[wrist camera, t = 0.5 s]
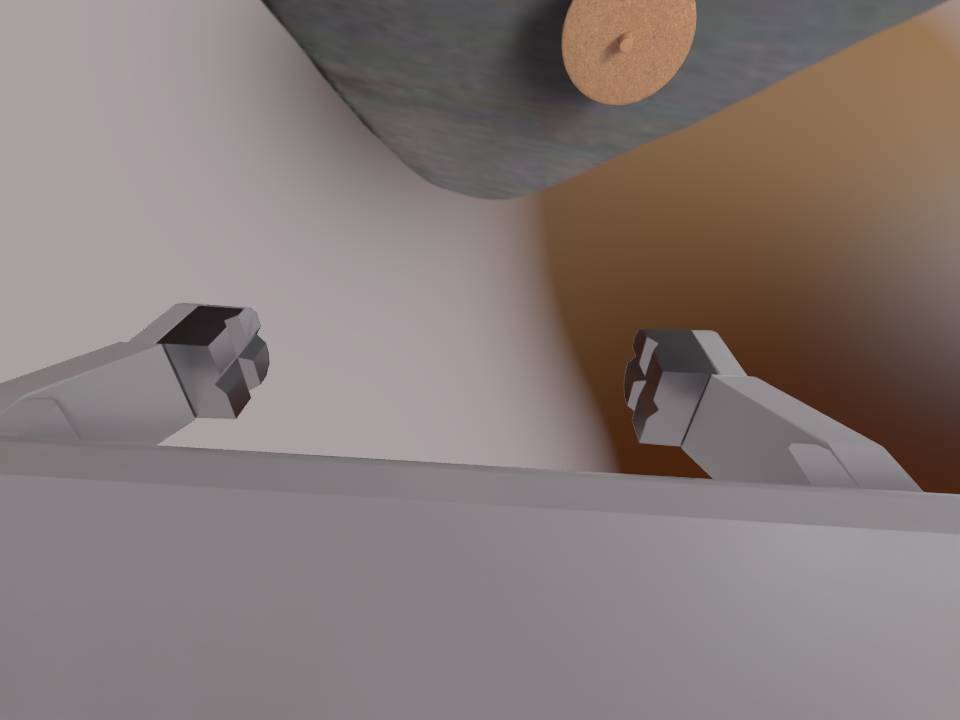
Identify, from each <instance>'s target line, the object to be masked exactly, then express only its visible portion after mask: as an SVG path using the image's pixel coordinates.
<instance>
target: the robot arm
mask: <svg viewBox="0 0 960 720" xmlns="http://www.w3.org/2000/svg"><path fill="white" fill-rule="evenodd" d="M260 327H261V324H260V321H259V319H258V316H257V313H256V312H255V311H254V310H253V309H251V308H247V307H232V306H219V305H203V304H189V303H188V304H187V303H181V304H175V305H174V306H172V307H171V308H170V309H169V310H167V311H166V312H165V313H164V314H162V315H161V316H160V317H159V318H157V319H156V320H155V321H154V322H152V323H151V324H150V325H149V326H147V327H146V328H145V329H144V330H143V331H141V332H140V333H139V334H137V335H136V336H135V337H134V338H132V339H131V340H130V341H129V342H118V343H116V344H113V345H110V346H107V347H104V348H101V349H99V350H96V351H93V352H90V353H87V354H84V355H81V356H78V357H75V358H72V359H69V360H67V361H64V362H61V363H58V364H55V365H52V366H49V367H46V368H43V369H41V370H38V371H35V372H32V373H29V374H26V375H24V376H20V377H18V378H15V379H12V380H9V381H6V382H3V383H0V720H960V494H942V493H927V492H923V491H922V490H921V489H920V488H919V486H918V485H917V484H916V483H915V482H914V481H913V480H912V479H911V477H910V476H909V475H908V474H907V473H906V472H905V471H904V470H903V468H902V467H901V466H900V465H899V464H898V463H897V462H896V461H895V460H894V458H893V457H892V456H891V455H890V454H889V453H888V452H887V451H886V450H885V448H884V447H882V446H880V445H878V444H877V443H875V442H873V441H871V440H869V439H867V438H866V437H864V436H862V435H860V434H858V433H857V432H855V431H853V430H851V429H849V428H848V427H846V426H844V425H842V424H840V423H838V422H837V421H834V420H833V419H831V418H829V417H828V416H826V415H824V414H822V413H820V412H818V411H817V410H815V409H813V408H811V407H809V406H807V405H806V404H804V403H802V402H800V401H798V400H797V399H795V398H793V397H791V396H789V395H787V394H786V393H784V392H782V391H780V390H778V389H776V388H775V387H773V386H771V385H769V384H767V383H766V382H764V381H762V380H760V379H758V378H756V377H748V376H747V375H746V374H745V372H744V371H743V369H742V368H741V366H740V365H739V364H738V362H737V361H736V359H735V358H734V356H733V355H732V354H731V352H730V351H729V349H728V348H727V346H726V345H725V344H724V342H723V341H722V339H721V338H720V336H719V335H718V333H716V332H714V331H698V330H697V331H696V330H695V331H694V330H693V331H692V330H662V329H639V330H638V332H637V333H636V335H635V338H634V342H633V346H632V347H633V349H634V352H635V355H636V357H634V358H633V359H632V360H631V361H630V362H629V363H628V364H627V368H626V372H625V377H624V393H625V399H626V403H627V405H628V406H629V407H630V408H632V409H633V410H634V415H633V418H632V422H633V424H634V428H635V431H636V434H637V437H638V440H639V442H640V443H647V444H659V445H671V446H682V449H683V450H684V451H685V452H686V453H687V454H688V455H689V456H690V457H691V458H692V459H693V460H694V461H695V462H696V463H697V464H698V465H699V466H700V467H701V468H702V469H704V470H705V471H706V472H707V473H708V474H709V475H710V476H711V477H712V478H713V479H698V478H682V477H665V476H648V475H632V474H615V473H599V472H598V473H597V472H583V471H565V470H550V469H533V468H517V467H501V466H484V465H467V464H450V463H435V462H434V463H433V462H419V461H401V460H385V459H369V458H353V457H337V456H320V455H304V454H287V453H271V452H255V451H238V450H222V449H206V448H205V449H204V448H189V447H173V446H157V444H159V443H160V442H162V441H163V440H165V439H166V438H168V437H169V436H171V435H172V434H174V433H175V432H177V431H178V430H180V429H182V428H183V427H185V426H186V425H188V424H189V423H191V422H192V421H194V420H195V418H224V419H236V418H237V417H238V416H239V414H240V413H241V411H242V410H243V408H244V407H245V405H246V404H247V403H248V402H249V400H250V399H251V396H250V393H249V390H251V389H253V388H255V387H257V386H258V385H260V384H261V383H262V382H263V380H264V378H265V377H266V375H267V371H268V367H269V352H268V348H267V345H266V343H265V342H264V341H263V340H262V339H261V338H260V337H259V336H258V335H257V333H258V331H259V329H260Z"/></svg>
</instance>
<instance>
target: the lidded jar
mask: <svg viewBox="0 0 960 720" xmlns="http://www.w3.org/2000/svg"><path fill="white" fill-rule="evenodd" d="M695 27H696V4H695V0H572V1H571V3H570V6H569V8H568V11H567V14H566V17H565V20H564V25H563V30H562V40H561V48H562V57H563V62H564V66H565V69H566V71H567V74H568V76H569V77H570V79H571V81H572V82H573V84H574V85H575V86H576V87H577V89H578V90H579V91H580V92H582V93H583V94H584V95H585V96H587V97H588V98H590V99H592V100H594V101H596V102H599V103H602V104H608V105H625V104H631V103H634V102H637V101H640V100H642V99H644V98H647V97H649V96H650V95H652V94H653V93H655V92H657V91H658V90H659V89H660V88H662V87H663V86H664V85H665V84H666V83H667V82H668V81H669V80H670V79H671V78H672V77H673V76H674V75H675V73H676V72H677V71H678V69H679V68H680V67H681V65H682V63H683V62H684V60H685V58H686V56H687V54H688V52H689V49H690V47H691V44H692V41H693V37H694V33H695Z"/></svg>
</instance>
